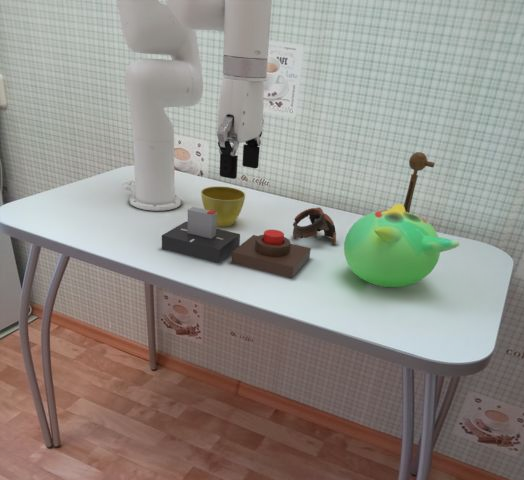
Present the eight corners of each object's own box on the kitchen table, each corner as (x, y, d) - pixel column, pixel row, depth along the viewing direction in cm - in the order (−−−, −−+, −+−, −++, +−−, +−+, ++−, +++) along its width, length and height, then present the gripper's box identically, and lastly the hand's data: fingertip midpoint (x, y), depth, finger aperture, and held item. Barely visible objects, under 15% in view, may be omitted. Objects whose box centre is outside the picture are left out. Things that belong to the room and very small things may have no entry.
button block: (231, 263, 102) (232, 242, 100) (252, 245, 111) (254, 225, 108) (292, 278, 99) (294, 257, 96) (309, 259, 107) (312, 238, 105)
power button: (260, 243, 101) (261, 234, 100) (267, 237, 104) (268, 228, 103) (278, 247, 100) (279, 238, 99) (285, 241, 103) (286, 232, 102)
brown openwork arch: (339, 252, 113) (328, 222, 107) (299, 264, 116) (286, 235, 111) (339, 221, 121) (328, 192, 115) (301, 232, 124) (289, 204, 119)
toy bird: (411, 265, 109) (429, 197, 101) (445, 303, 95) (469, 228, 87) (329, 263, 106) (342, 193, 98) (353, 302, 92) (369, 224, 84)
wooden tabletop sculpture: (415, 240, 122) (438, 153, 111) (410, 246, 119) (433, 157, 108) (391, 234, 124) (412, 148, 113) (385, 239, 121) (406, 151, 110)
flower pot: (228, 234, 115) (230, 203, 111) (191, 223, 119) (192, 192, 115) (251, 222, 122) (253, 193, 118) (215, 212, 126) (217, 183, 122)
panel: (161, 249, 105) (161, 234, 103) (185, 234, 113) (185, 220, 111) (218, 263, 101) (219, 248, 100) (239, 247, 109) (240, 233, 108)
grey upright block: (187, 233, 105) (187, 208, 102) (192, 230, 107) (192, 205, 104) (211, 238, 104) (212, 213, 101) (216, 235, 106) (217, 210, 103)
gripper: (246, 65, 95) (241, 160, 104) (200, 68, 81) (199, 178, 91) (283, 69, 93) (275, 166, 102) (243, 74, 79) (237, 185, 88)
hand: (239, 172), depth 96 cm, fingers open, 9 cm apart
